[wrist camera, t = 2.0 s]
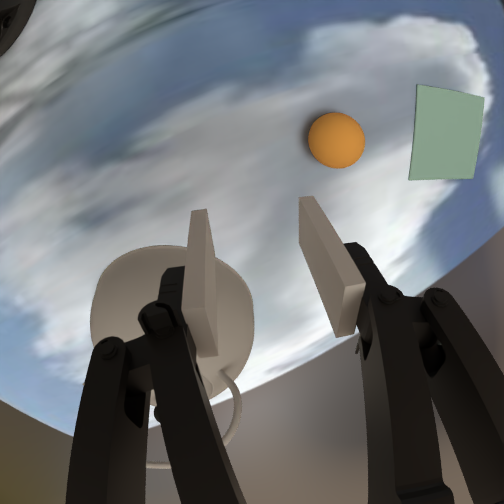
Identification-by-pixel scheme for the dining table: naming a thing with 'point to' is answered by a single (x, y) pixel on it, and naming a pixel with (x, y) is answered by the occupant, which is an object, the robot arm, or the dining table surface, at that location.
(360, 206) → the dining table surface
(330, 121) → the ball
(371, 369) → the robot arm
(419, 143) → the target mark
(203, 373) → the kettle
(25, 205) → the dining table surface
